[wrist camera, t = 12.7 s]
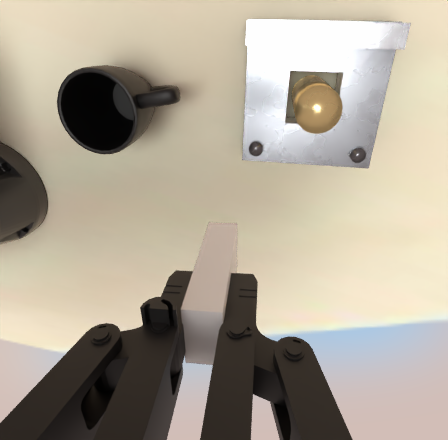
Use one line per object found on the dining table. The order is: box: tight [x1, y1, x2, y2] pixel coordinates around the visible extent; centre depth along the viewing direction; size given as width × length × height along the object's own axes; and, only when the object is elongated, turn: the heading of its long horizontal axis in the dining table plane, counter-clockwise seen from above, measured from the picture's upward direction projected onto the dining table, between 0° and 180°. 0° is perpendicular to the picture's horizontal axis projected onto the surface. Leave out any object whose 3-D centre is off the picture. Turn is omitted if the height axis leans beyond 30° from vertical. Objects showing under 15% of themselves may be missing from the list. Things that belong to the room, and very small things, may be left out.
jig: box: [242, 19, 411, 168], centre depth 36 cm, size 14×14×6 cm
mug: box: [57, 65, 180, 154], centre depth 37 cm, size 8×12×10 cm
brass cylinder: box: [292, 75, 343, 134], centre depth 34 cm, size 4×4×10 cm
